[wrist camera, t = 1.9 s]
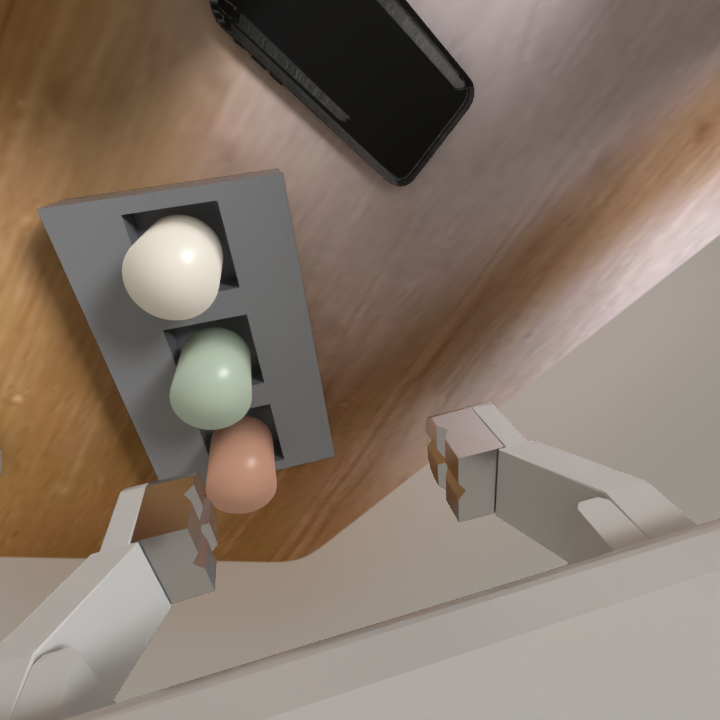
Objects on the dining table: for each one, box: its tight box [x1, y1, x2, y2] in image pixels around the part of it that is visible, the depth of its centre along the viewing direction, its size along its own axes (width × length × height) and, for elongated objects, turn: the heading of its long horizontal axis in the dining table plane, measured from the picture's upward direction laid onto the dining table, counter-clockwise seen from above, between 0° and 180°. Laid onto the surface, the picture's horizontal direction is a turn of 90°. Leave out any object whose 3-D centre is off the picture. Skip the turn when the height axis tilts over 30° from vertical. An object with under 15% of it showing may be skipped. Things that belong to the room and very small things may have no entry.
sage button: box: [170, 327, 252, 430], centre depth 27 cm, size 4×4×5 cm
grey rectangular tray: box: [37, 169, 335, 488], centre depth 31 cm, size 13×21×4 cm, turn 7°
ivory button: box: [122, 215, 223, 320], centre depth 24 cm, size 4×4×5 cm
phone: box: [210, 0, 474, 186], centre depth 26 cm, size 8×1×15 cm
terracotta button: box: [206, 416, 277, 514], centre depth 30 cm, size 4×4×5 cm
